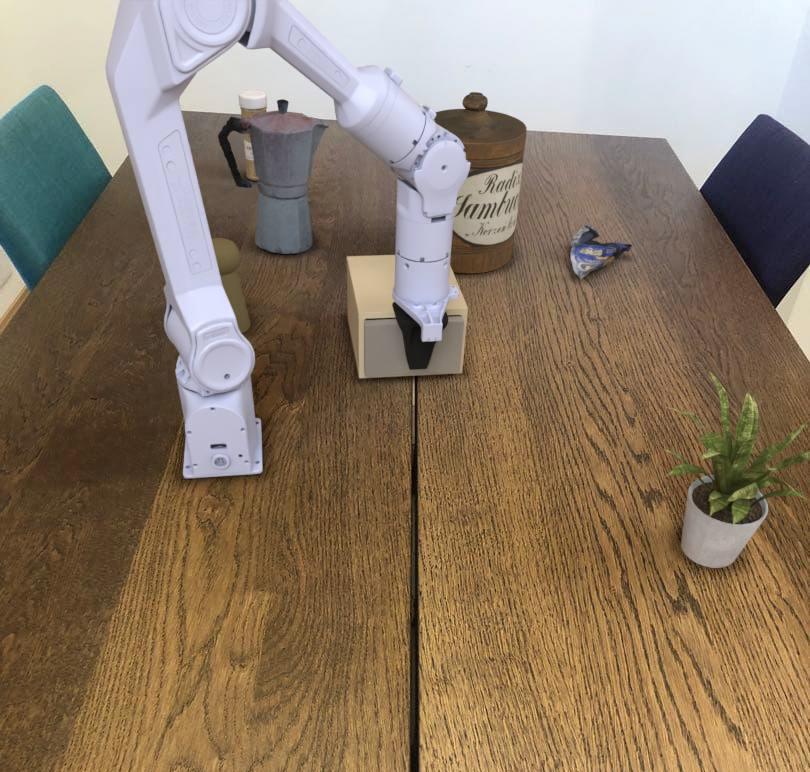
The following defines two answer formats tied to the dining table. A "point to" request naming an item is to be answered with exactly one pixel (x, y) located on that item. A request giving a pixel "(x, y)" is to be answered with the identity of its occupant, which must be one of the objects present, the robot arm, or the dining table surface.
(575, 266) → the snack package
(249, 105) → the sprinkles bottle
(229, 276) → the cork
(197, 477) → the robot arm
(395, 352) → the drawer
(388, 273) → the mini drawer chest
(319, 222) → the dining table surface
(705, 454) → the house plant
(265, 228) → the moka pot
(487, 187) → the wooden container
